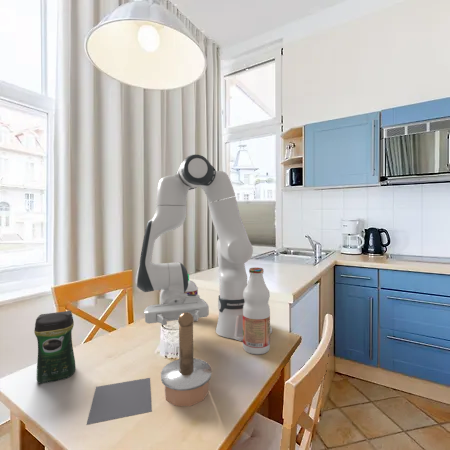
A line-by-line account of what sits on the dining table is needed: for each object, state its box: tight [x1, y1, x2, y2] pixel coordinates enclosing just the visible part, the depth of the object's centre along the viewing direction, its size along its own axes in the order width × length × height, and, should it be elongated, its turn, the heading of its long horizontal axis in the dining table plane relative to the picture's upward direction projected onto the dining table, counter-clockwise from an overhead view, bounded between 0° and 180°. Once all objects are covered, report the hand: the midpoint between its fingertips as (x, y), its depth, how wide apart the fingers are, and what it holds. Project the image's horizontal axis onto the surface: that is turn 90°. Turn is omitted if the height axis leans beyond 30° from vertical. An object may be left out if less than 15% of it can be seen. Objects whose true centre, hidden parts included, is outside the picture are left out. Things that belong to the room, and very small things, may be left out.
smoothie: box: [185, 273, 199, 295], centre depth 124 cm, size 8×8×20 cm
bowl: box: [164, 380, 210, 407], centre depth 73 cm, size 11×12×5 cm
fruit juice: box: [242, 267, 271, 355], centre depth 96 cm, size 9×9×28 cm
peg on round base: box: [160, 312, 212, 391], centre depth 72 cm, size 13×13×16 cm
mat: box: [86, 377, 153, 426], centre depth 70 cm, size 14×14×1 cm
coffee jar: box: [33, 310, 76, 384], centre depth 81 cm, size 10×8×19 cm
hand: (180, 320), depth 83 cm, fingers open, 8 cm apart
